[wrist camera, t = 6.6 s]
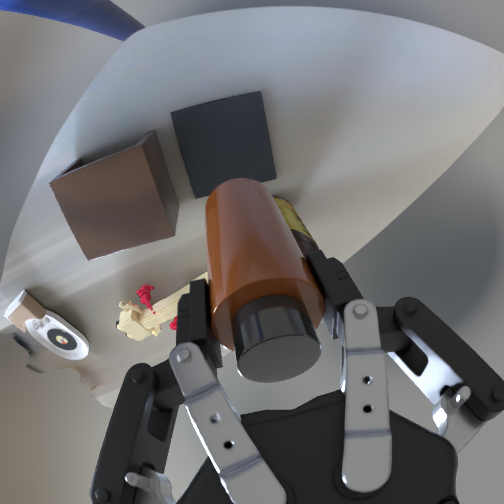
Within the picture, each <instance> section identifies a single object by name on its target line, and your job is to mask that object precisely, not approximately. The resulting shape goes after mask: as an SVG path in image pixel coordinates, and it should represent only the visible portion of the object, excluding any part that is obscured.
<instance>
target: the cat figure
mask: <svg viewBox="0 0 504 504" xmlns="http://www.w3.org/2000/svg"><path fill="white" fill-rule="evenodd" d="M202 278H205V279H206V281H207V283H208V272H205V273H204V274H202V275H200V276H199V277H197V278H196V279H194V280H198V279H202ZM194 280H192V281H194ZM189 287H190V284H188V285H186V286H185V287H183V288H181V289H180V290H178V291H177V292H175V293H173V294H172V295H170V296H169V297H167V298H165V299H162V300H160V301H159V302H157V303H155V304H154V305H152V304H150V303H149V301H150V300H151V295H150V291H151V290H152V289H154V287H152V286H151V285H149V286H148V285H147V284H146V285H145V286H142V287H141V290H140V289H139V290H138V291H137V294H138V295H139V297H140V298H141V299H140V301H141V303H142V304H146V306H147V308H146V309H144V310H143V309H142V308H141V307H139V306H138V305H136V304H133V303H131V301H129V303H125V302H123V301H121V302H120V304H119V307H121V308H122V309H123V311H122V312H121V313H120V319H119V320H118V321H117V322H116V328H118V329H119V330H120V331H121V330H122V331H124V332H126V335H127V336H128V337H129V338H134V339H135V340H137V341H138V340H139V341H141V340H143V339H144V338H146V337H148V336H150V335H151V334H153V335H155V336H158V333H160V332H161V327H160V324H161V323H163V322H165V321H166V320H170V319H172V318H174V321H173V322H171V324H170V325H169V326H170V327H171V329H173V330H176V329H177V305H178V301H179V299H180V297H181V295H182V294H186V293H189ZM149 290H150V291H149Z"/></svg>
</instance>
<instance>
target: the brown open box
mask: <svg viewBox="0 0 504 504" xmlns="http://www.w3.org/2000/svg"><path fill="white" fill-rule="evenodd" d="M49 185H50V187H51V189H52V191H53V194H54V196H55V198H56V200H57V202H58V204H59V207H60V209H61V211H62V213H63V215H64V217H65V219H66V221H67V223H68V225H69V227H70V229H71V231H72V233H73V235H74V236H75V238H76V240H77V242H78V244H79V246H80V247H81V249H82V251H83V253H84V255H85V256H86V258H87V260H88V261H89V260H93V259H96V258H99V257H103V256H106V255H109V254H113V253H116V252H120V251H123V250H127V249H130V248H134V247H137V246H141V245H144V244H148V243H151V242H155V241H159V240H162V239H166V238H170V237H173V236H175V231H176V224H177V217H178V210H179V203H178V200H177V197H176V194H175V191H174V188H173V185H172V182H171V179H170V176H169V173H168V170H167V167H166V164H165V161H164V158H163V155H162V152H161V148H160V145H159V142H158V139H157V135H156V132H155V130H153V131H150V132H148V133H147V134H146V135H145V136H144V137H143V138H142V139H141V140H140V141H139V142H138V143H137V145H135V146H132V147H129V148H126V149H124V150H121V151H118V152H116V153H113V154H110V155H108V156H105V157H103V158H100V159H98V160H96V161H93V162H91V163H88V164H86V165H84V166H83V164H82V162H81V159H78V160H76V161H74V162H73V163H72V164H71V165H70V166H68V167H67V168H66V169H65V170H64V171H62V172H61V173H60V174H59V175H58V176H57V177H56V178H54V179H53V180H52V181H51V182H50V183H49Z"/></svg>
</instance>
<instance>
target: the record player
mask: <svg viewBox="0 0 504 504" xmlns="http://www.w3.org/2000/svg"><path fill="white" fill-rule="evenodd" d="M4 316H5V317H7V318H8V319H9V320H10V321H11V322H12V323H13V324H15V325H16V326H17V327H18V328H19V329H21V330H22V331H23V332H26V331H27V330H28V331H29V333H30V334H31V335H32V336H33V337H34V338H35V339H36V340H37V341H39V342H40V343H41V344H42V345H44V346H45V347H46V348H48V349H49V350H51V351H52V352H53V353H55V354H57V355H59V356H61V357H63V358H67V359H71V360H79V359H83V358H85V357H86V356H87V354H88V350H89V343H88V341H87V339H86V338H85V336H84V335H83V334H82V333H80V332H79V331H78V330H77V329H75V328H74V327H73V326H72V325H70V324H69V323H68V322H67V321H65V320H64V319H63V318H61V317H60V316H59V315H57V314H55V313H53V312H51V311H49V310H46V309H45V308H44V307H42V306H41V305H40V304H39V303H38V302H37V301H36V300H35V299H33V298H32V297H31V296H30V295H29V294H28V293H27V292H26V291H25V290H23V291H22V292H21V293H20V294H19V295H18V296H17V298H16V299H15V300H14V301H13V302H12V303H11V304H10V305H9V307H8V309H7V310H6V312H5V315H4Z"/></svg>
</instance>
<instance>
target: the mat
mask: <svg viewBox="0 0 504 504" xmlns="http://www.w3.org/2000/svg"><path fill="white" fill-rule="evenodd" d="M171 116H172V120H173V123H174V127H175V131H176V134H177V137H178V141H179V144H180V148H181V151H182V155H183V158H184V161H185V165H186V168H187V171H188V175H189V178H190V181H191V184H192V188H193V191H194V194H195V197H196V199H197V198H201V197H204V196H208V195H210V194H211V193H212V192H213V191H214V189H215V188H217V187H218V186H219V185H221V184H222V183H224V182H226V181H228V180H232V179H236V178H248V179H253V180H255V181H258V182H260V183H261V182H266V181H270V180H275V179H276V173H275V167H274V162H273V156H272V150H271V145H270V139H269V134H268V128H267V123H266V117H265V112H264V107H263V102H262V97H261V92H260V91H259V92H254V93H248V94H243V95H238V96H234V97H229V98H225V99H220V100H216V101H212V102H208V103H204V104H200V105H196V106H193V107H189V108H185V109H182V110H178V111H175V112H172V113H171Z"/></svg>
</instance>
